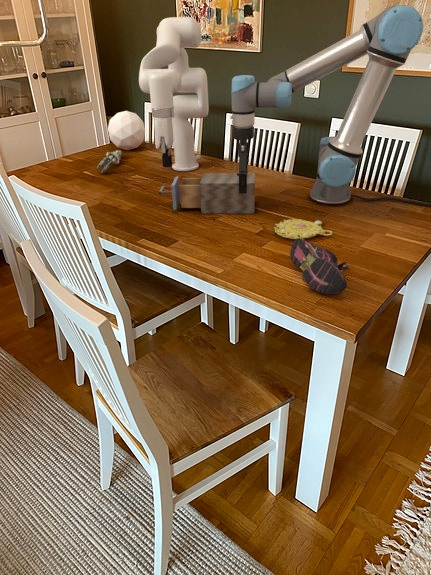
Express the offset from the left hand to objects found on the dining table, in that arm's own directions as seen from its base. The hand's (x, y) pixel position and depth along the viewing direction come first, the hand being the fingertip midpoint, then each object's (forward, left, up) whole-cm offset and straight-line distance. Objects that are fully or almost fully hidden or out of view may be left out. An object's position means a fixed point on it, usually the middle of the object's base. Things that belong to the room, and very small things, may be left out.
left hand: (167, 166), depth 159 cm
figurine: (-24, -60, -16) cm, 66 cm away
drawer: (-4, +7, -15) cm, 17 cm away
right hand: (-14, +23, -8) cm, 28 cm away
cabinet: (-12, +18, -16) cm, 27 cm away
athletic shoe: (+16, +69, -16) cm, 73 cm away
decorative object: (-7, +51, -16) cm, 54 cm away
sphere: (-50, -74, -16) cm, 91 cm away
